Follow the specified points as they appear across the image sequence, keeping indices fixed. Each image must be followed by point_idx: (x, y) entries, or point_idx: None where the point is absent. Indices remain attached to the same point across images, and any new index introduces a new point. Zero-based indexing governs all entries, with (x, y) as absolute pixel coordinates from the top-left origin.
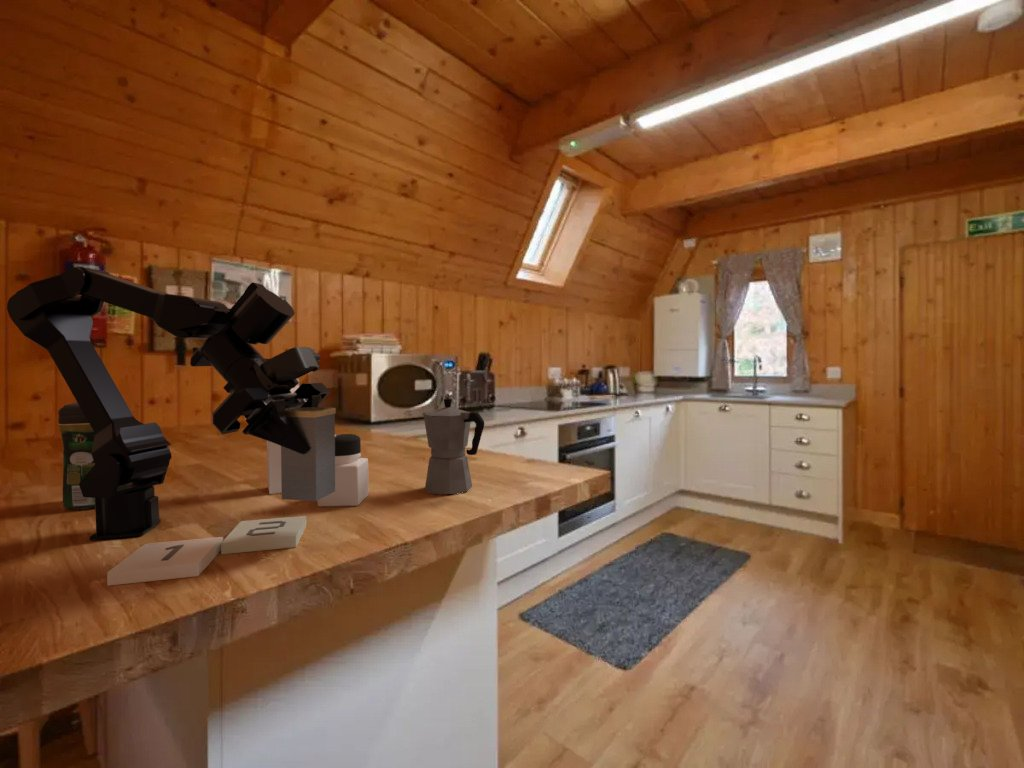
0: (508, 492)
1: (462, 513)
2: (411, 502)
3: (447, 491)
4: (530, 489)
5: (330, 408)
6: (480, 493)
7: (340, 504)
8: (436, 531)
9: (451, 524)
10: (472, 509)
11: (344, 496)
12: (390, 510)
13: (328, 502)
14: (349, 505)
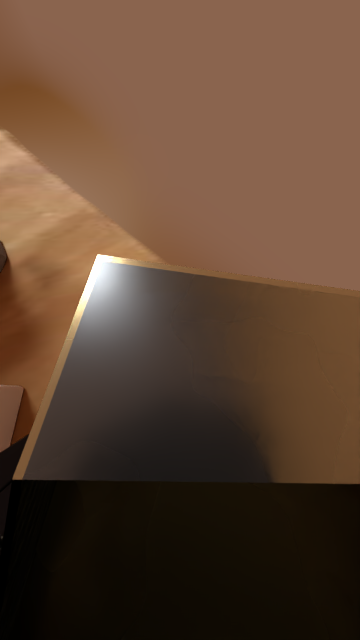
0: (19, 196)
1: (97, 239)
2: (28, 305)
3: (1, 258)
4: (14, 175)
5: (159, 276)
6: (11, 224)
7: (14, 420)
8: (160, 259)
9: (137, 246)
10: (83, 230)
11: (4, 413)
12: (63, 327)
13: (4, 447)
14: (19, 402)
